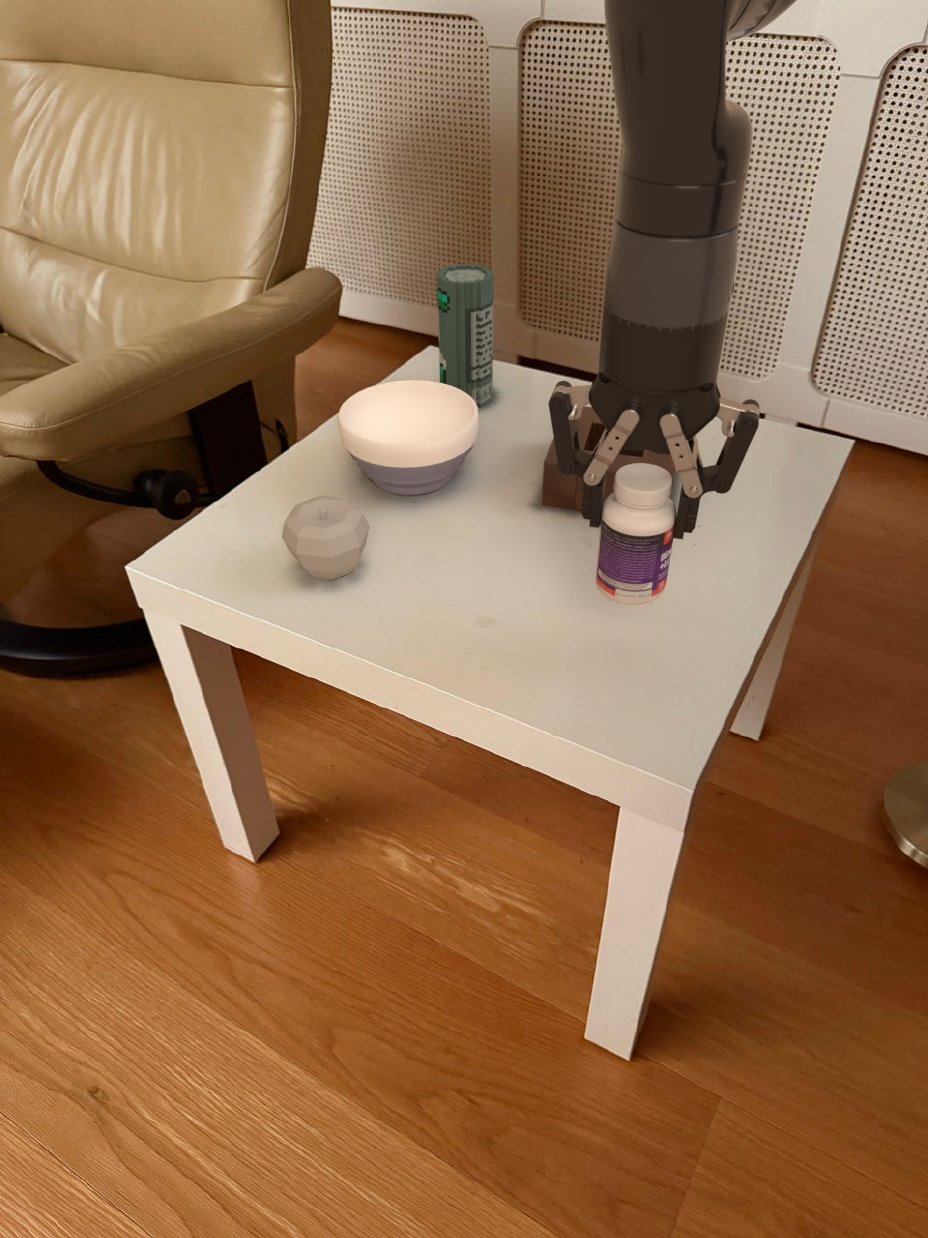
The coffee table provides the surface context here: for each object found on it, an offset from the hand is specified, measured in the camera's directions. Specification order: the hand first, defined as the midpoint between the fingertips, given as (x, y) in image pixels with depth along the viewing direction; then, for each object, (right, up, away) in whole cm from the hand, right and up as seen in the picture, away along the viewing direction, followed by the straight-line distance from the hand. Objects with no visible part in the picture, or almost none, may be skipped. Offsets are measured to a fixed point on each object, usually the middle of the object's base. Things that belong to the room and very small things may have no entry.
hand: (637, 526), depth 64 cm
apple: (-25, -2, +18) cm, 31 cm away
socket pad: (+3, +8, +29) cm, 30 cm away
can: (-12, +21, +44) cm, 50 cm away
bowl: (-18, +9, +30) cm, 37 cm away
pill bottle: (0, -4, +4) cm, 6 cm away
